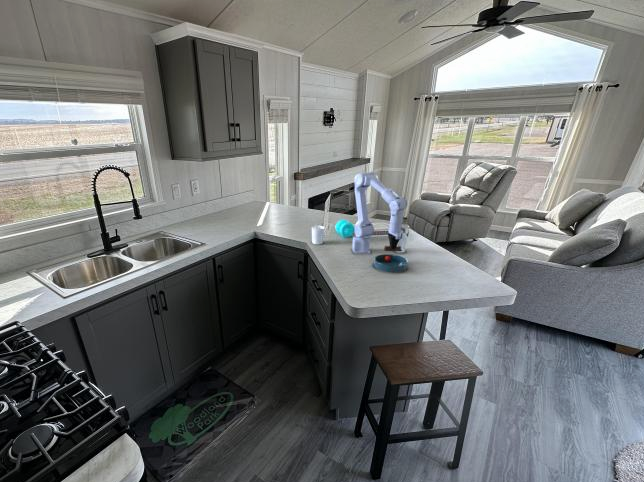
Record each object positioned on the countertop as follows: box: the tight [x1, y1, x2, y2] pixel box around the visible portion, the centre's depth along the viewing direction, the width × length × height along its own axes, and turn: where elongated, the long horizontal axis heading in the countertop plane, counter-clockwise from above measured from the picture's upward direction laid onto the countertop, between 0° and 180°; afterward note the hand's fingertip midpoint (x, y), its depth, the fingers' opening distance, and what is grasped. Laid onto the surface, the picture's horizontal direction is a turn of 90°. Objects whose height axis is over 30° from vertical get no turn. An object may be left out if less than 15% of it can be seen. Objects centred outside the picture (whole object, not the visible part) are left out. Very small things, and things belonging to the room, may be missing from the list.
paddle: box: [383, 245, 401, 252], centre depth 170 cm, size 8×2×2 cm, turn 85°
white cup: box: [311, 225, 326, 245], centre depth 203 cm, size 8×8×10 cm
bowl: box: [373, 253, 409, 273], centre depth 168 cm, size 16×16×4 cm
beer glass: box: [394, 223, 410, 254], centre depth 185 cm, size 7×7×15 cm
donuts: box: [335, 219, 355, 238], centre depth 214 cm, size 10×10×10 cm
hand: (392, 247), depth 170 cm, fingers closed on paddle, 2 cm apart
